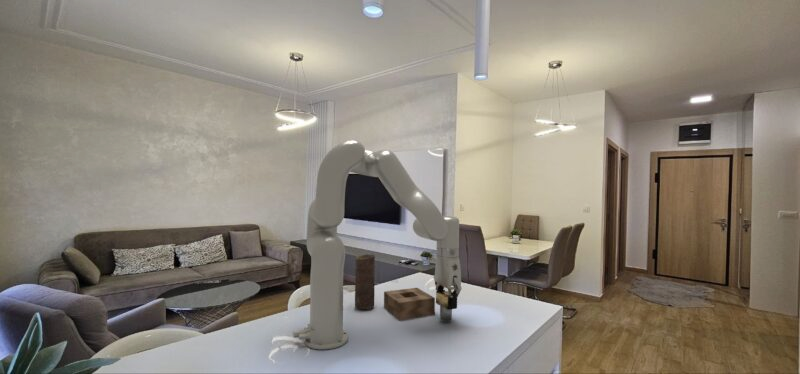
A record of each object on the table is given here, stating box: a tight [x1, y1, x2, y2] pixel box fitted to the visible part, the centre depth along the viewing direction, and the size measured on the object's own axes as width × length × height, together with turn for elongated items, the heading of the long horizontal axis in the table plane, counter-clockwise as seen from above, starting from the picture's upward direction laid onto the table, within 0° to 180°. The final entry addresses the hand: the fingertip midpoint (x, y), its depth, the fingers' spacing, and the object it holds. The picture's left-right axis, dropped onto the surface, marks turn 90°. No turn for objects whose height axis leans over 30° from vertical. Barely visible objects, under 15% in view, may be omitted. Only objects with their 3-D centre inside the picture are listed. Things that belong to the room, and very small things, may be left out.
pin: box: [435, 290, 453, 322], centre depth 118 cm, size 7×7×8 cm
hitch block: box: [383, 287, 436, 321], centre depth 128 cm, size 14×14×6 cm
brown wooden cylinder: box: [354, 253, 376, 310], centre depth 130 cm, size 8×7×20 cm
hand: (446, 304), depth 118 cm, fingers closed on pin, 7 cm apart
